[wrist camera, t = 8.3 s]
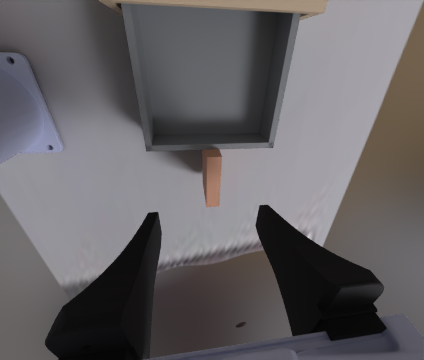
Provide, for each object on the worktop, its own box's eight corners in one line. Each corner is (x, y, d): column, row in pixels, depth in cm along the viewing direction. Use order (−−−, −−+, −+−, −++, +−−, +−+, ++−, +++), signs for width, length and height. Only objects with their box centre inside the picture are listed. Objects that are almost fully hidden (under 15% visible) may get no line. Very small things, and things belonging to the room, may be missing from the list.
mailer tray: (110, -129, 11) (70, -232, 7) (301, -104, 12) (357, -178, 8) (158, 183, 22) (152, 210, 18) (254, 178, 23) (268, 203, 19)
